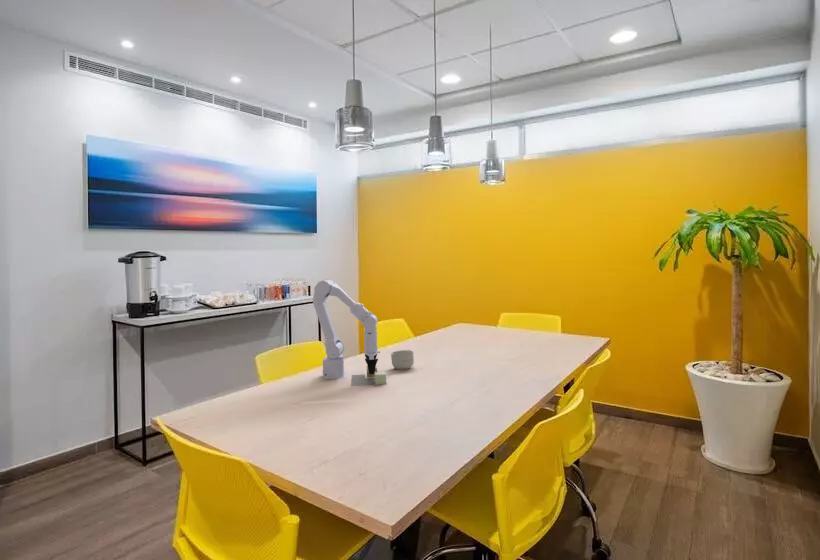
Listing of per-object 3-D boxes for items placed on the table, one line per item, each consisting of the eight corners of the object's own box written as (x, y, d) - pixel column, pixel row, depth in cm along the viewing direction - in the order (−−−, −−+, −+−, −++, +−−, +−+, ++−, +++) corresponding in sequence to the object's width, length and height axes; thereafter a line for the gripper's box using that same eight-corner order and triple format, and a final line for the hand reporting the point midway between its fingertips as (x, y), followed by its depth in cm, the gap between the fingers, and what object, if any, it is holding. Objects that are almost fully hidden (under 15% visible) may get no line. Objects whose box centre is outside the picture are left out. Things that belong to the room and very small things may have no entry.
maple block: (367, 377, 209) (366, 368, 209) (366, 374, 214) (366, 366, 213) (377, 377, 210) (377, 368, 209) (376, 374, 214) (376, 365, 214)
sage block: (375, 384, 199) (375, 374, 199) (375, 381, 204) (374, 372, 203) (386, 383, 200) (386, 374, 199) (385, 380, 204) (385, 371, 204)
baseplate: (351, 387, 197) (351, 385, 197) (351, 376, 214) (351, 374, 214) (386, 385, 199) (386, 383, 199) (384, 374, 216) (384, 373, 216)
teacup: (404, 372, 218) (404, 355, 217) (386, 369, 225) (386, 352, 224) (422, 366, 229) (421, 350, 229) (404, 363, 236) (404, 347, 235)
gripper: (380, 344, 204) (381, 375, 205) (379, 338, 218) (379, 367, 219) (364, 345, 203) (365, 376, 204) (363, 338, 217) (364, 367, 218)
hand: (371, 371), depth 212 cm, fingers open, 7 cm apart
